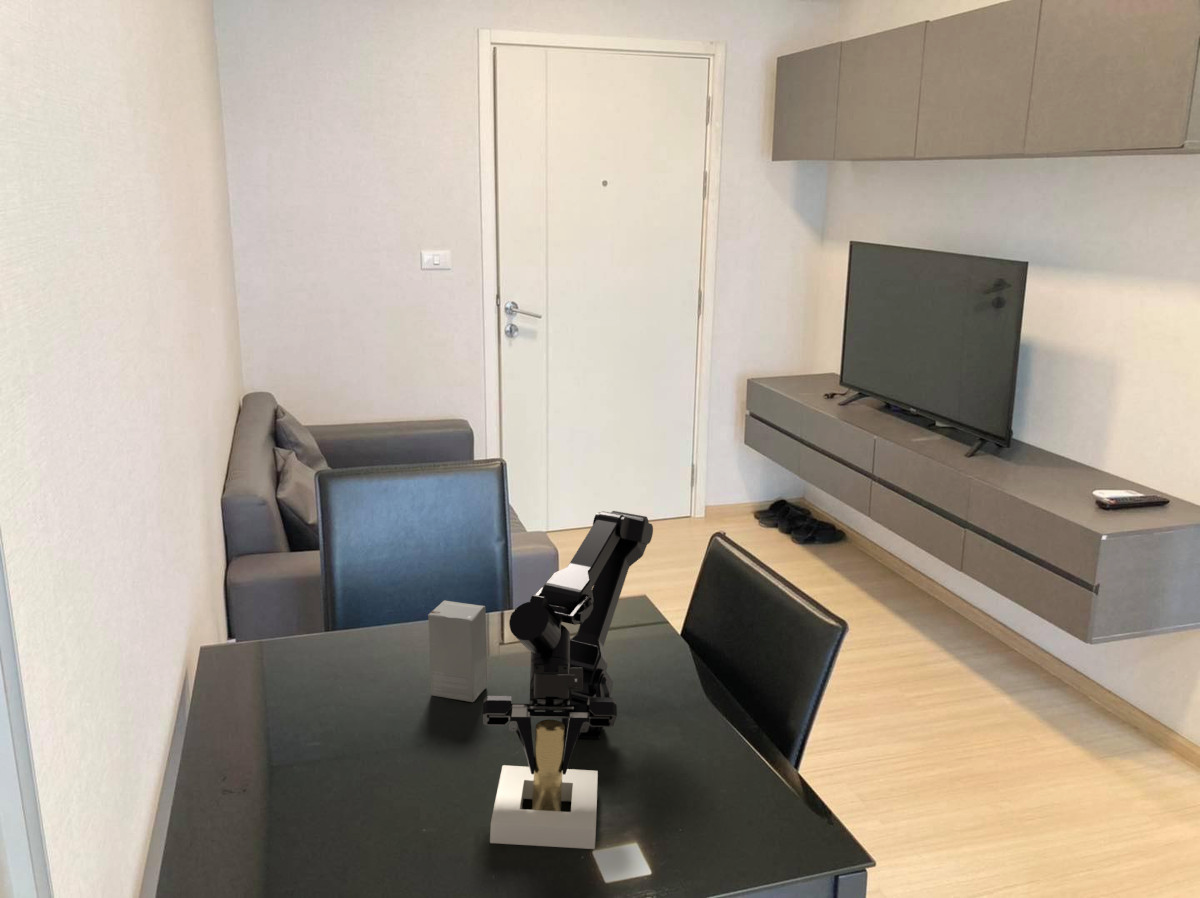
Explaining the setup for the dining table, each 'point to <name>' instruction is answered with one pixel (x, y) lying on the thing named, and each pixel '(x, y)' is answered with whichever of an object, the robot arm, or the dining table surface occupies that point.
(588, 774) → the socket block
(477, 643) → the skincare box
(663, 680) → the dining table surface
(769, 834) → the dining table surface
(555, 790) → the brass tube
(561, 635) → the robot arm
